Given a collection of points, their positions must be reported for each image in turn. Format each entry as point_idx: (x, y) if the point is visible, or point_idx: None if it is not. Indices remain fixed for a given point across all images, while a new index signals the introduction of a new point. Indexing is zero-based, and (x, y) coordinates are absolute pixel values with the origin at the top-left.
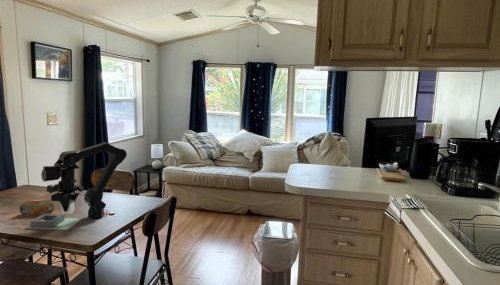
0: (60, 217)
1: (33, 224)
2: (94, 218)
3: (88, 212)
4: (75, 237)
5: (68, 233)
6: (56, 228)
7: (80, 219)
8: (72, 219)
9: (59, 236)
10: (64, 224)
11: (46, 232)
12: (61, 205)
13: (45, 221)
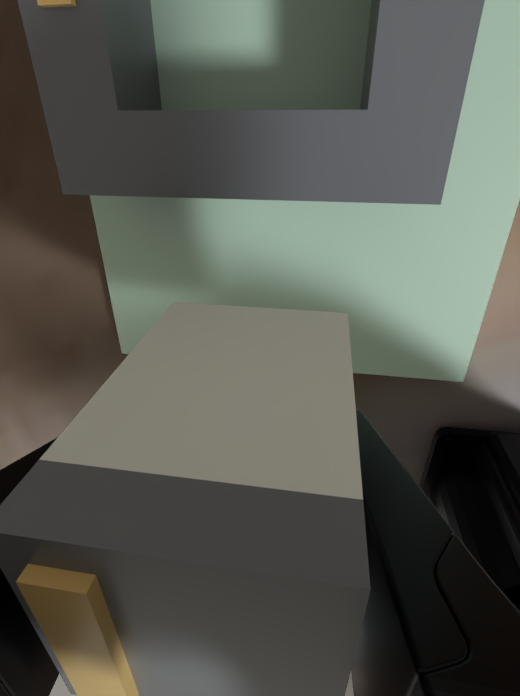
0: (294, 199)
1: None
2: (434, 498)
3: (514, 492)
4: (44, 440)
5: (91, 370)
6: (117, 229)
7: (436, 375)
8: (447, 284)
9: (12, 325)
10: (256, 261)
11: (39, 138)
12: (75, 417)
13: (36, 36)
